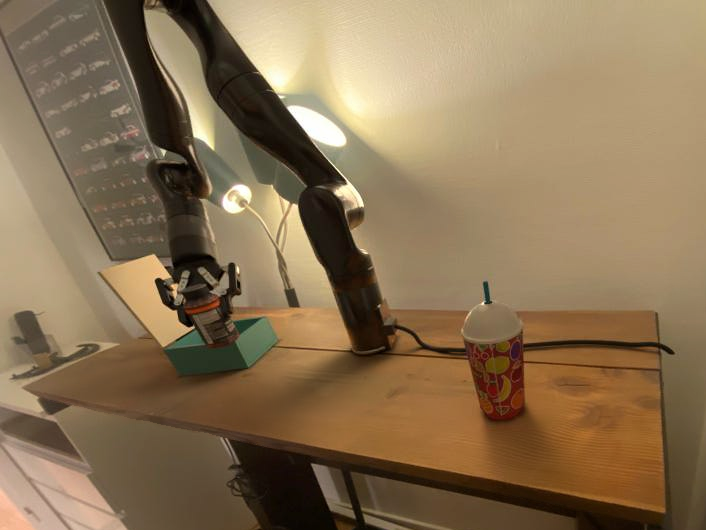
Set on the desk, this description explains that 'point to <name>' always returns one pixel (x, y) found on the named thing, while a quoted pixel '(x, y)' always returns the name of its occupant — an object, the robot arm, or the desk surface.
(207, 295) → the supplement bottle
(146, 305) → the lid
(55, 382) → the desk surface
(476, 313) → the smoothie
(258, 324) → the teal open box
